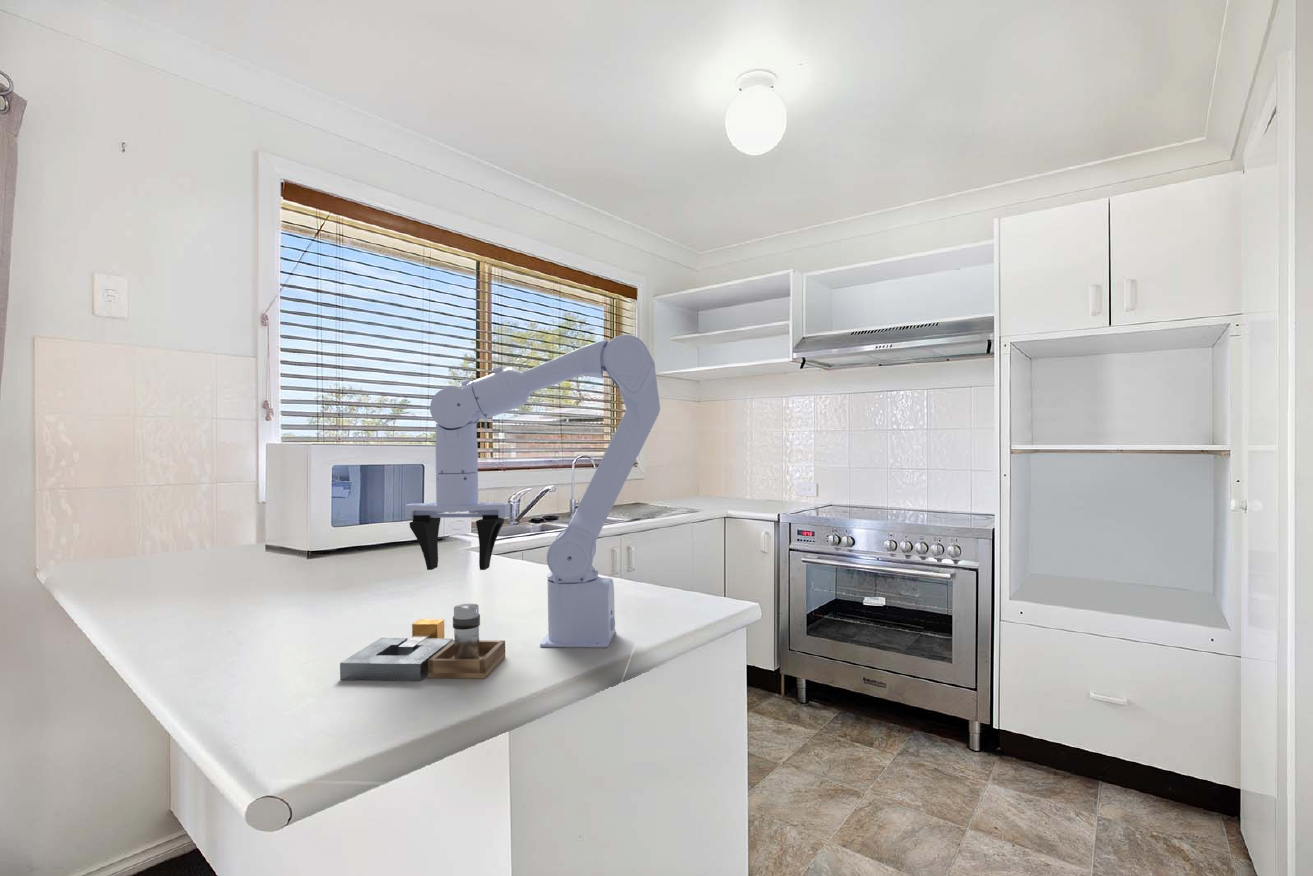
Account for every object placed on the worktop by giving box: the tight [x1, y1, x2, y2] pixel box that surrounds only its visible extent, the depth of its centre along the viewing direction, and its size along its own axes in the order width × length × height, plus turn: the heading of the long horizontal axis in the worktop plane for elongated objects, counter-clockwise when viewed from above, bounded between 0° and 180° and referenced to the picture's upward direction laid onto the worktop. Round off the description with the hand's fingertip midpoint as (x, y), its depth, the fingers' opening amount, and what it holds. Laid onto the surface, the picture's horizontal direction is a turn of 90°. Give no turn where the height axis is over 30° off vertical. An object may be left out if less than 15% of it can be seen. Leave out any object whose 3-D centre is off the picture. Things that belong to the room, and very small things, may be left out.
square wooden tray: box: [427, 639, 506, 679], centre depth 83 cm, size 7×8×2 cm
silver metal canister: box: [452, 603, 481, 659], centre depth 83 cm, size 3×3×7 cm
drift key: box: [398, 618, 445, 656], centre depth 90 cm, size 8×4×3 cm, turn 175°
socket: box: [339, 637, 454, 682], centre depth 84 cm, size 10×10×2 cm
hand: (458, 568), depth 94 cm, fingers open, 7 cm apart
